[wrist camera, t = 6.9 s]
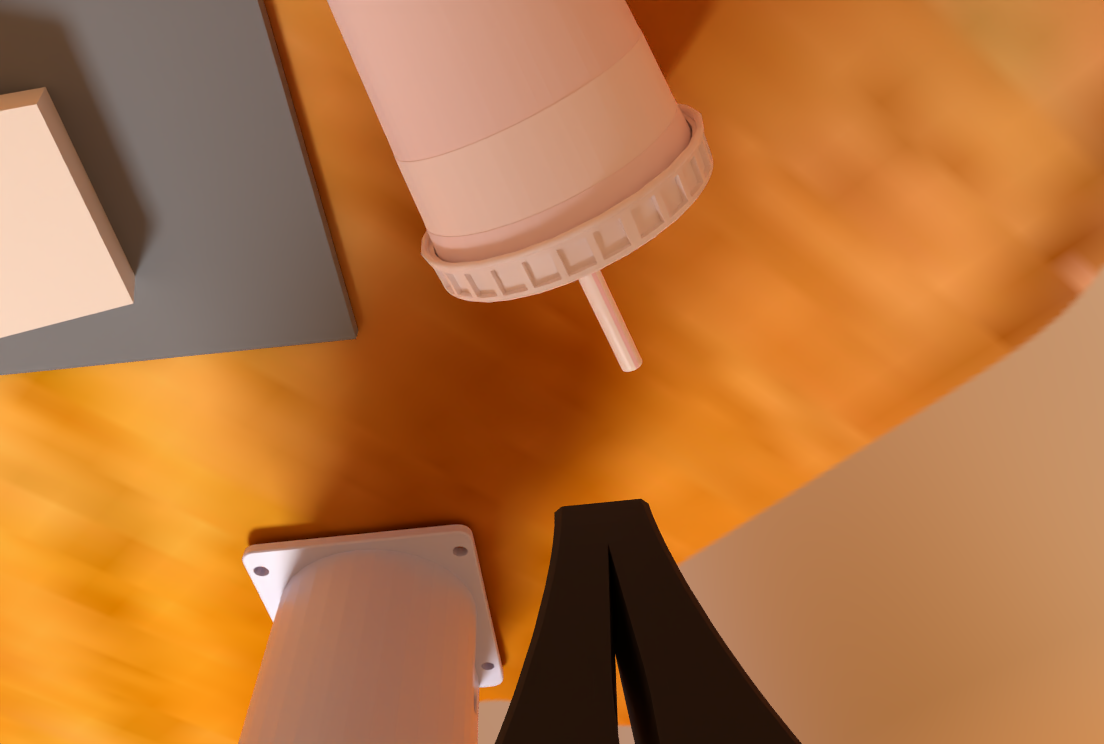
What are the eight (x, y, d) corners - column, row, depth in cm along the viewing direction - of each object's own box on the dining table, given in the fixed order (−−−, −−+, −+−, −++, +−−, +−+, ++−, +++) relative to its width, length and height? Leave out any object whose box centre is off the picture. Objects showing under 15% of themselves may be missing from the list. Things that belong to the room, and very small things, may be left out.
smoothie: (123, -179, 13) (487, 405, 20) (113, -377, 8) (615, 512, 15) (421, -313, 15) (665, 274, 22) (584, -556, 9) (838, 328, 16)
